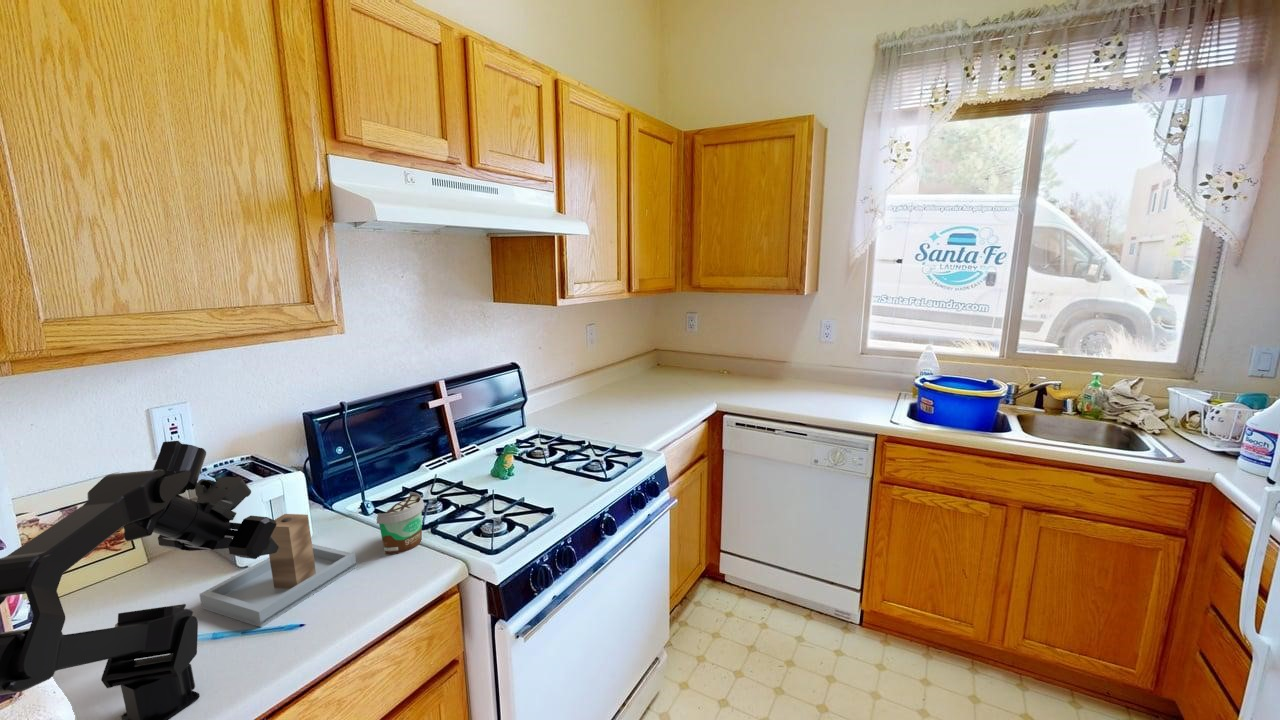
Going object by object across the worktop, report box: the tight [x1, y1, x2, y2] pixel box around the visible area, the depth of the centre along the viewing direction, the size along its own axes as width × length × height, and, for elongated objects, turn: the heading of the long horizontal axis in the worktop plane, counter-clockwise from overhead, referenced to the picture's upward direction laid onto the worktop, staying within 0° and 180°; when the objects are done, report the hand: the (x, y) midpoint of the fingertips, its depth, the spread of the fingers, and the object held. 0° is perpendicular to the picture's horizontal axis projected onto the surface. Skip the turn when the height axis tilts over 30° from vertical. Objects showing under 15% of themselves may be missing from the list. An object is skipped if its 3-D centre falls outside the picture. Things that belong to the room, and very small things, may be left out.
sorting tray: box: [199, 543, 358, 628], centre depth 105 cm, size 20×16×3 cm
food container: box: [376, 491, 425, 555], centre depth 120 cm, size 12×6×10 cm, turn 168°
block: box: [268, 513, 316, 589], centre depth 104 cm, size 5×5×13 cm
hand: (255, 547), depth 94 cm, fingers open, 9 cm apart
